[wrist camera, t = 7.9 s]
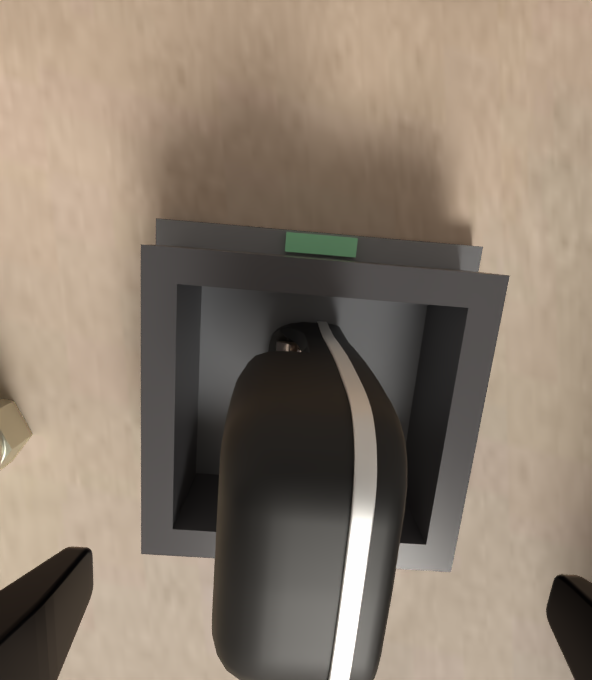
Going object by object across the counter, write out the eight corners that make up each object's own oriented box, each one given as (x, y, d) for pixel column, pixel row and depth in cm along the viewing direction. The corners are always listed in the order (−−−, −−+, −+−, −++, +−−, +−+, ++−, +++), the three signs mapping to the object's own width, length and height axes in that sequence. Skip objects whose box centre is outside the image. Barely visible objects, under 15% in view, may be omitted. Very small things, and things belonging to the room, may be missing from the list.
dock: (472, 246, 18) (539, 246, 13) (425, 516, 21) (465, 594, 16) (163, 220, 18) (115, 209, 13) (160, 499, 21) (120, 575, 16)
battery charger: (256, 310, 18) (201, 414, 7) (341, 318, 18) (427, 430, 7) (246, 454, 19) (188, 734, 8) (325, 459, 19) (373, 743, 8)
